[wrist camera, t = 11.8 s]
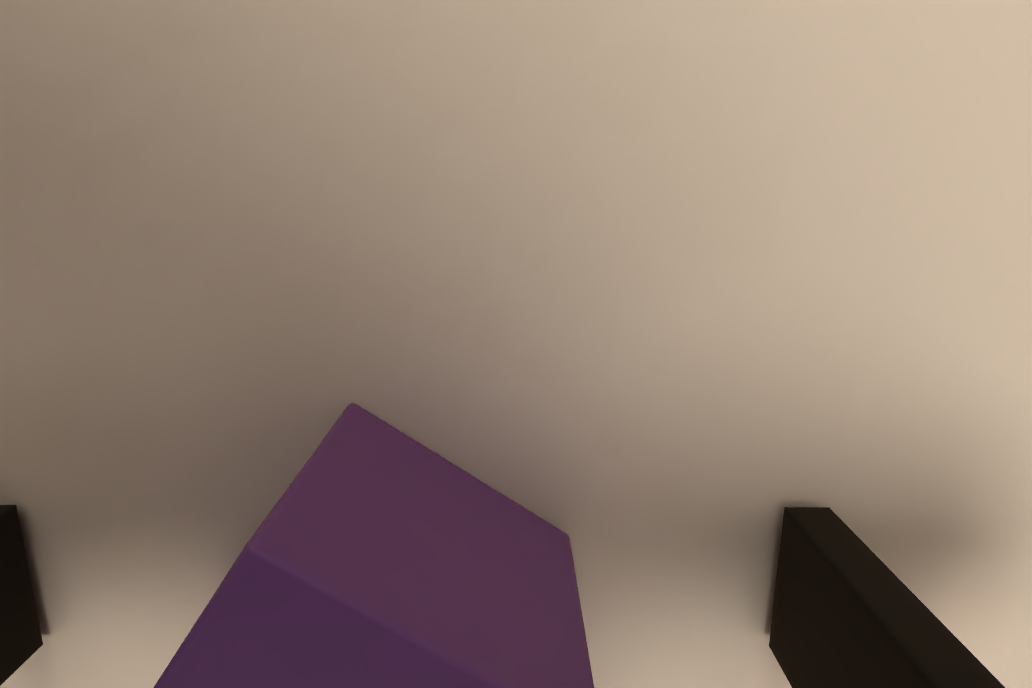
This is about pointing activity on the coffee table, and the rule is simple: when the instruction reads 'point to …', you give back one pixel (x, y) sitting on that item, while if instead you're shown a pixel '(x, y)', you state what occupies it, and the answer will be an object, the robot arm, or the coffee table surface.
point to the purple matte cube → (391, 582)
